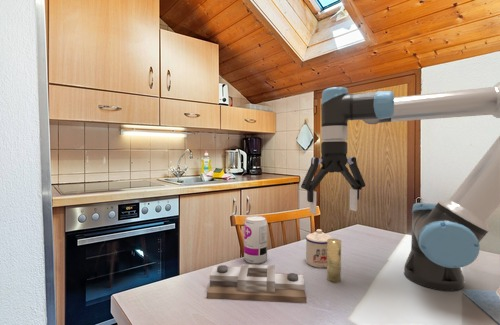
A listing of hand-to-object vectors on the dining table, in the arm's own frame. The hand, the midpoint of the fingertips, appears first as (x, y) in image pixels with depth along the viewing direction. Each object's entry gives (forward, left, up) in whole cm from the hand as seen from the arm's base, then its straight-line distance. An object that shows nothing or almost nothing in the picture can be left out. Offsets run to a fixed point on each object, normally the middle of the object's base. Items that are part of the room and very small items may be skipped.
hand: (333, 211), depth 82 cm
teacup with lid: (+8, -9, -21) cm, 24 cm away
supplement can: (+26, +6, -21) cm, 34 cm away
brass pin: (-1, 0, -21) cm, 21 cm away
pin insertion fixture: (+12, +20, -21) cm, 31 cm away
